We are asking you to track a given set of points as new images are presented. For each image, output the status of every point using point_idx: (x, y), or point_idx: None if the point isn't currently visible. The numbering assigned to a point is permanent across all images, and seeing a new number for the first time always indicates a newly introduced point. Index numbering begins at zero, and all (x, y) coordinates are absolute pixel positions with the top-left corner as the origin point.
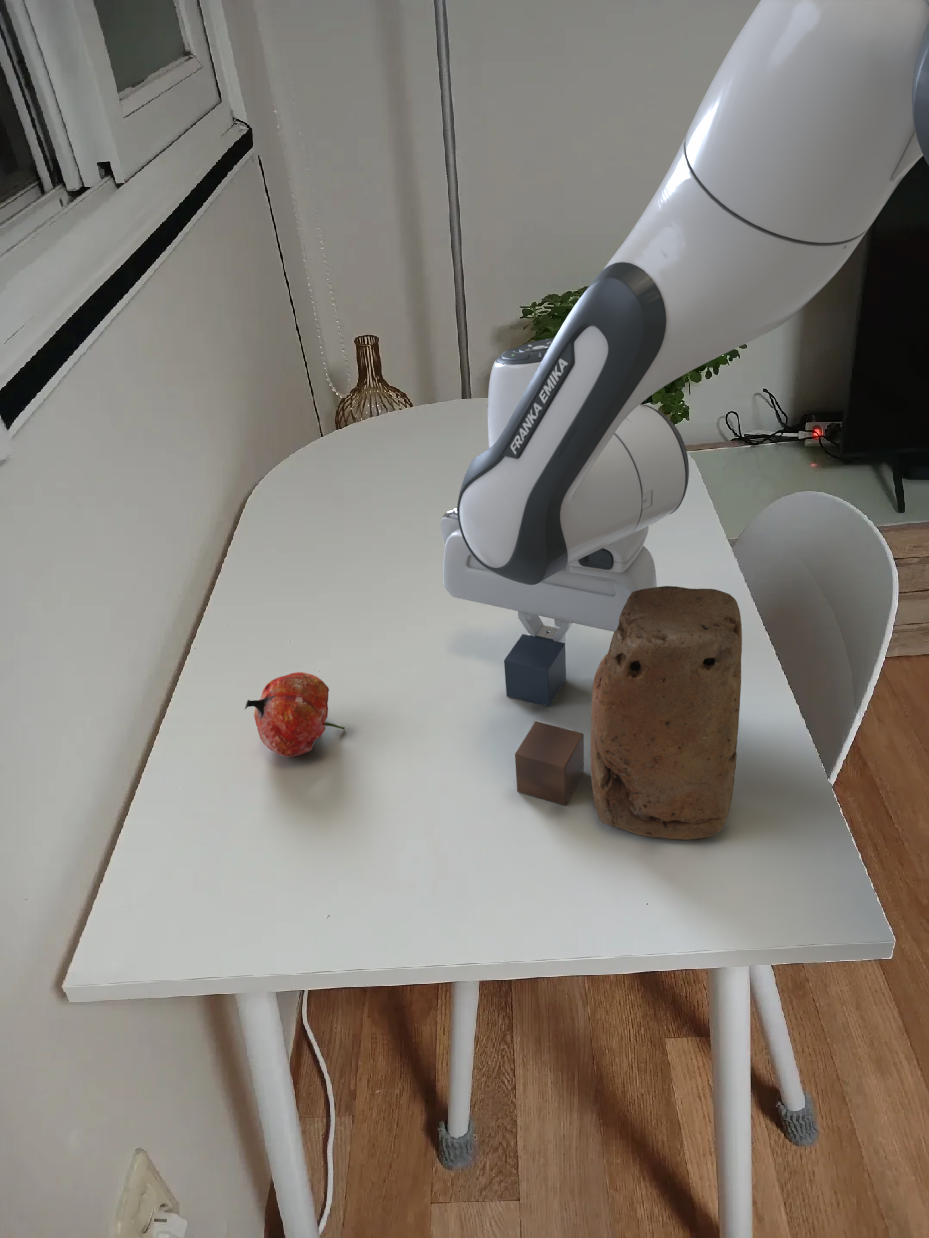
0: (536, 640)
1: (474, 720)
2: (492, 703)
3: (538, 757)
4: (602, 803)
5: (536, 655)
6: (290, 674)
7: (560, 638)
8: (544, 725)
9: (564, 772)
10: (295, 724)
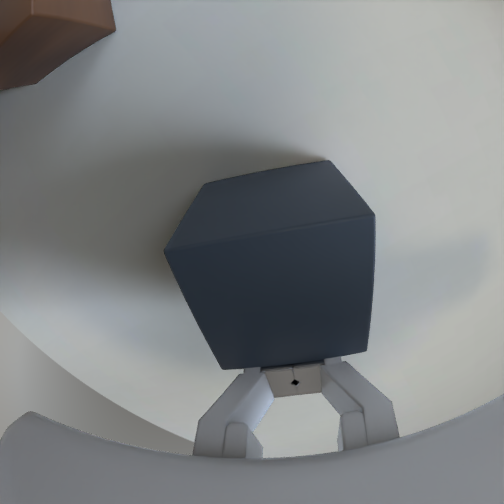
0: (309, 351)
1: (348, 39)
2: (347, 118)
3: None
4: None
5: (264, 300)
6: None
7: (234, 381)
8: (8, 28)
9: None
10: None
